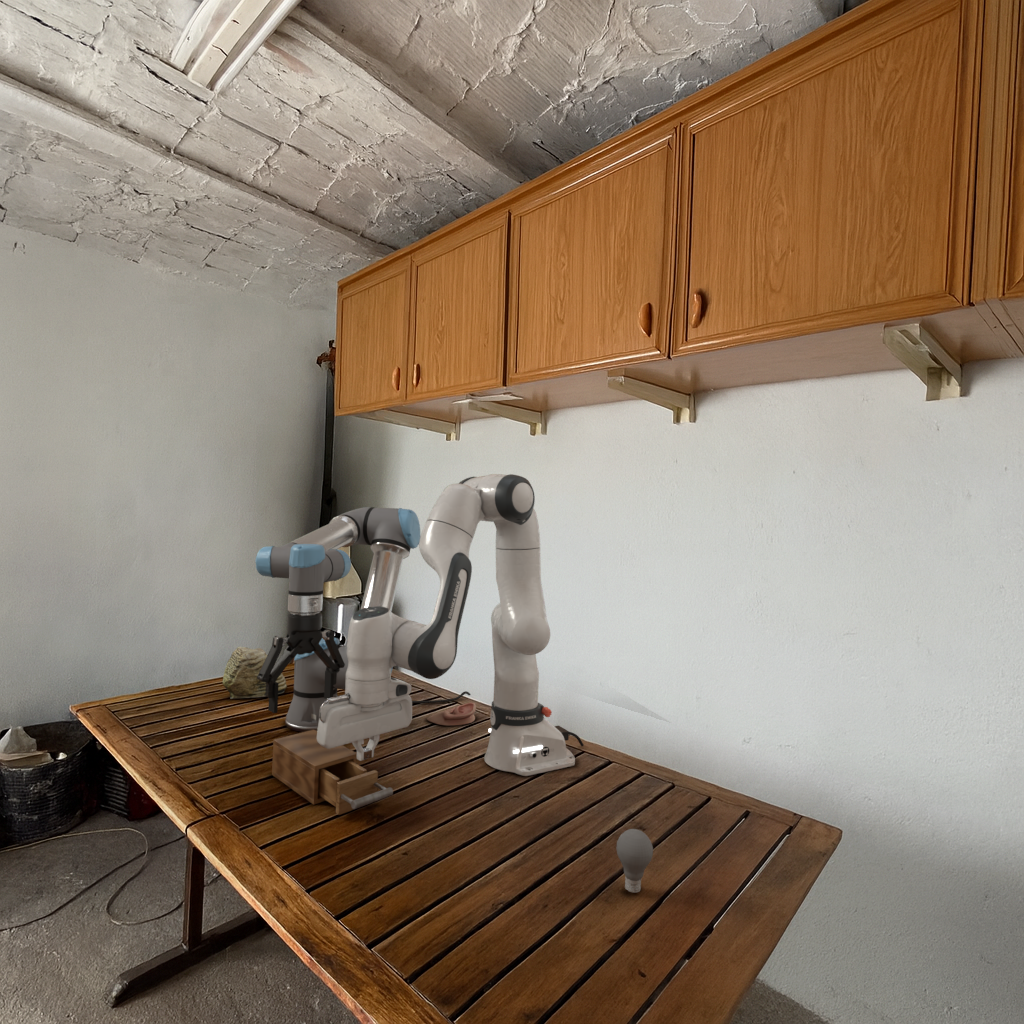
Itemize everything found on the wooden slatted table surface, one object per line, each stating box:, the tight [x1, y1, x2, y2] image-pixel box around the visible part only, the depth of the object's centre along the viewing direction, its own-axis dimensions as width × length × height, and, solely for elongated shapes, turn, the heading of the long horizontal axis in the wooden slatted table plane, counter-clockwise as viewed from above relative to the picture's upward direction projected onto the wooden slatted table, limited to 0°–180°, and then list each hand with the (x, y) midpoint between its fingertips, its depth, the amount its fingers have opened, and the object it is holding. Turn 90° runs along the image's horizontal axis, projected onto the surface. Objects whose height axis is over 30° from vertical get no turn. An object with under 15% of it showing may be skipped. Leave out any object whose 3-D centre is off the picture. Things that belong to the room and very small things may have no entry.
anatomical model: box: [426, 702, 477, 726], centre depth 183 cm, size 13×4×12 cm
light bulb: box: [615, 828, 654, 894], centre depth 106 cm, size 6×6×10 cm
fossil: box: [222, 646, 288, 699], centre depth 198 cm, size 9×18×15 cm, turn 132°
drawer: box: [318, 760, 394, 816], centre depth 132 cm, size 23×9×6 cm, turn 47°
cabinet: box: [271, 730, 358, 806], centre depth 140 cm, size 19×10×8 cm, turn 46°
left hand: (301, 705), depth 144 cm, fingers open, 13 cm apart
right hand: (365, 758), depth 126 cm, fingers closed
